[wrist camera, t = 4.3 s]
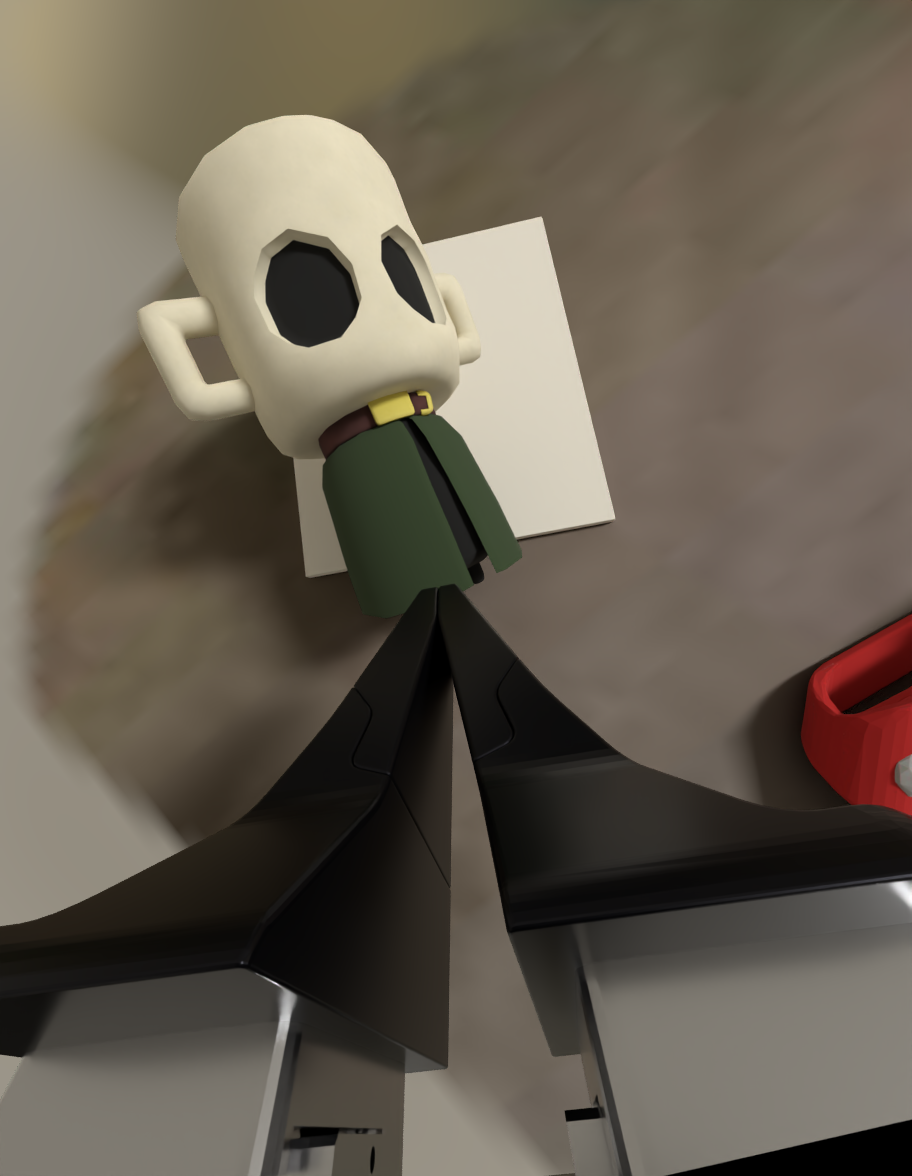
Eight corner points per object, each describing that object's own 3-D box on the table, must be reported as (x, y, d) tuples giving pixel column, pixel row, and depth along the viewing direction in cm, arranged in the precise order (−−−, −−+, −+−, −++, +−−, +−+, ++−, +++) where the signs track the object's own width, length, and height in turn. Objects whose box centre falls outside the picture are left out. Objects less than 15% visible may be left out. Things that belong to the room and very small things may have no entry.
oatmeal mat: (612, 521, 18) (615, 518, 17) (309, 577, 19) (305, 576, 18) (540, 225, 20) (541, 216, 20) (278, 286, 21) (274, 279, 21)
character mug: (326, 694, 10) (24, 85, 7) (298, 657, 16) (130, 322, 14) (620, 532, 14) (483, 126, 12) (506, 553, 20) (404, 290, 18)
